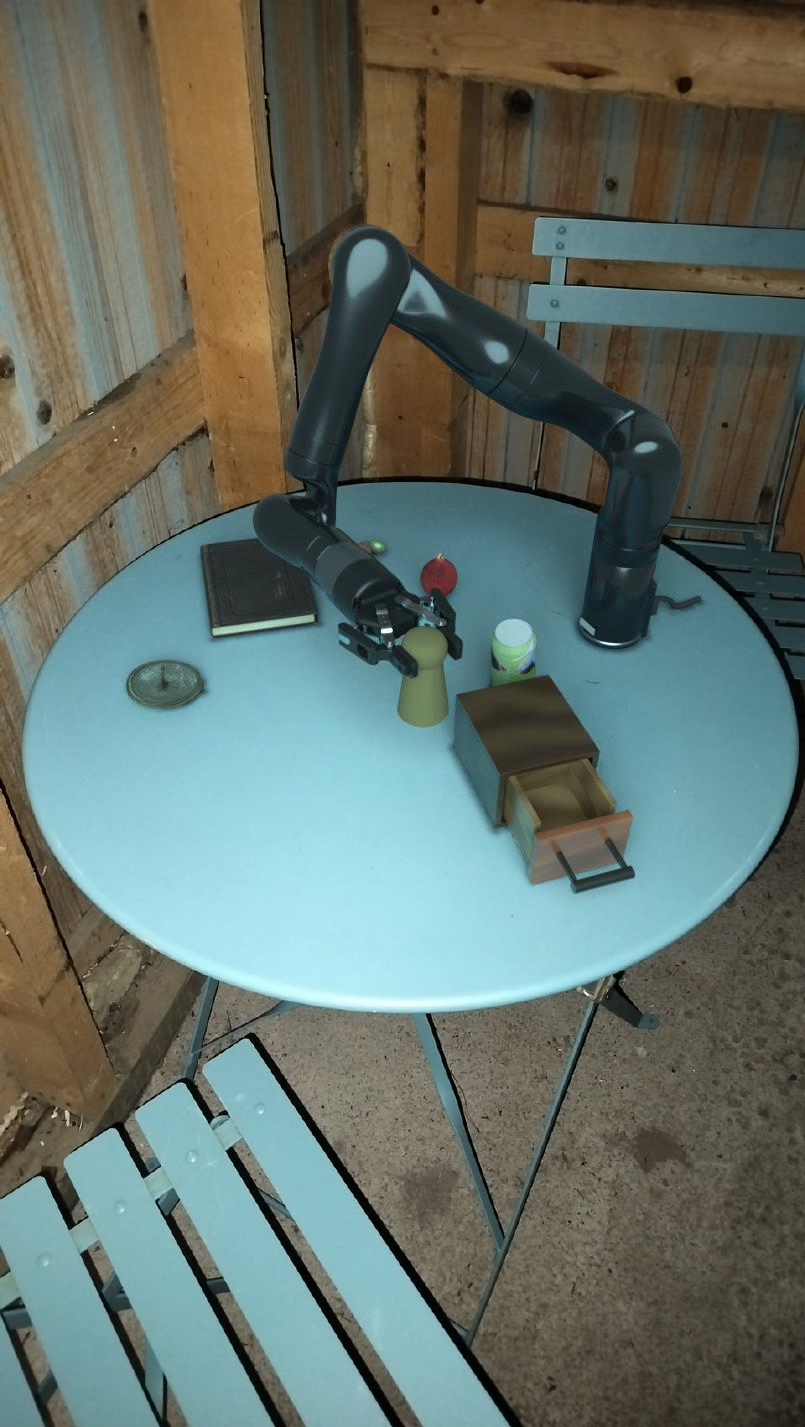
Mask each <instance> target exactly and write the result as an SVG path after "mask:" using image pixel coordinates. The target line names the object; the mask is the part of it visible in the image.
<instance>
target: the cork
mask: <svg viewBox="0 0 805 1427" xmlns="http://www.w3.org/2000/svg"><path fill="white" fill-rule="evenodd" d="M400 645H401V646H402V647H403V648H404V649H405V650H406V651H407V652H408V653H409V654H410V655H411V656H412V657H413V658H414V659H415V660H416V662H417V664H418V676H417V677H415V678H412V679H411V678H409V677H408V675H407V676H404V675H402V676H401V677H402V678H401V679H402V680H401V683H400V690H399V696H398V700H397V701H398V702H397V709H396V713H397V715H398V717H399V719H401V720H402V721H403V722H404V723H406V724H408V725H409V726H412V727H417V728H429V727H435V726H437V725H439V724H441V723H442V722H443V721H445V720H446V719H447V717H448V715H449V714H450V712H449V711H450V710H449V709H450V706H449V700H448V699H449V698H448V691H447V683H446V676H445V668H444V661H445V660H446V658H447V655H448V653H447V651H448V643H447V640H446V637H445V636H444V634H443V633H442V632H441V631H440V630H438V629H436V628H435V627H434V626H431V627H430V626H419V627H415V628H412V629H410V630H409V631H408V632H407V633H406V634H405V635H403V637H402V638H401V640H400Z"/></svg>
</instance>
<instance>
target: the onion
mask: <svg viewBox="0 0 805 1427" xmlns="http://www.w3.org/2000/svg"><path fill="white" fill-rule="evenodd" d="M458 578H459V577H458V572H457V569H456V566H455V565H454V563H453V562H452V561H450V560H449V559H447V558H445V554H444V553H442V552H439V553H437V554H436V557H435V558H432V559H430V560H429V561H427V562H426V563H425V564H424V566H423V567H422V569H421V572H420V579H419V580H420V585H421V588H422V589H423V591H424V592H425V593H426V594H427V595H430V590H431V589H432V588H438V589H440V590H441V592H442V593H443V595H444V596H445V597H447V596H448V595H450V594H451V593H453V591H454V590H455V589H456V587H457V584H458V580H459V579H458Z"/></svg>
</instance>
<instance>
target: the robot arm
mask: <svg viewBox="0 0 805 1427" xmlns="http://www.w3.org/2000/svg"><path fill="white" fill-rule="evenodd" d="M327 262H328V263H327V268H328V269H327V270H328V276H329V281H330V283H331V291H330V300H329V308H328V313H327V314H328V315H327V320H326V321H327V323H326V326H325V331H324V335H323V339H322V343H321V347H320V350H319V354H318V357H317V359H316V362H315V364H314V368H313V371H312V372H311V376H310V378H309V381H308V383H307V385H306V388H305V390H304V393H303V396H302V398H301V401H300V404H299V406H298V410H297V412H296V415H295V419H294V423H293V426H292V429H291V434H290V436H289V440H288V444H287V447H286V451H285V455H284V460H283V468H284V471H286V473H287V474H288V475H289V476H290V477H292V478H293V479H295V480H297V481H300V482H302V483H304V484H305V485H306V486H305V487H306V491H305V494H304V496H302V495H294V494H287V493H279V492H278V493H270V494H267V495H266V496H264V497H263V498H261V499H260V500H259V501H258V503H256V506H255V508H254V510H253V514H252V526H253V530H254V533H255V535H256V538H258V539H259V541H260V542H261V543H262V544H263V546H264V547H266V548H267V549H268V550H269V551H270V552H272V553H273V554H275V555H276V556H278V557H280V558H281V559H283V560H285V561H286V562H288V563H290V564H292V565H294V566H296V567H298V568H300V569H301V570H303V571H304V572H305V573H306V576H307V577H309V578H310V580H312V582H313V583H315V585H317V586H318V588H319V589H320V591H321V592H322V594H323V595H324V596H325V598H326V599H327V600H328V601H329V602H330V603H331V604H332V605H333V606H334V607H335V608H336V609H337V610H338V611H339V612H340V613H341V615H343V616H344V618H346V619H347V621H348V622H349V623H347V622H339V623H338V624H337V634H338V638H337V639H338V644H339V646H341V647H343V648H344V649H346V650H347V651H349V652H350V653H352V654H353V655H355V656H356V657H357V658H359V659H360V660H362V661H364V662H365V663H366V664H368V665H370V666H377V665H378V664H379V662H383V661H384V662H386V663H387V664H391V665H392V666H393V667H394V669H396V670H397V671H398V673H399V674H400V675H401V676H403V675H404V676H407V675H408V677H409V678H411V679H412V678H415V677H417V676H418V664H417V662H416V660H415V659H414V658H413V657H412V656H411V655H410V654H409V653H408V652H407V651H406V650H405V649H404V648H403V647H402V646H401V643H399V644H396V640H398V639H399V638H401V637H402V636H404V635H405V634H406V633H407V632H408V631H409V630H410V629H412V628H415V627H419V626H430V627H434V628H436V629H438V630H440V631H441V632H442V633H443V634H444V636H445V637H446V640H447V643H448V651H447V655H448V656H450V658H451V659H452V660H454V661H458V660H460V659H462V658H463V652H464V642H463V639H461V637H460V636H459V635H458V634H456V630H457V627H456V624H457V623H456V620H457V612H456V611H455V609H454V608H453V606H452V605H451V603H450V601H448V599H447V598H446V596H444V595H443V593H442V592H441V590H440V589H438V588H432V589H431V590H430V595H429V594H427V595H422V596H418V595H417V594H416V593H412V592H410V591H408V590H407V589H406V588H405V586H404V585H403V583H402V581H401V580H400V579H399V578H398V577H397V576H396V575H395V574H394V573H393V572H392V571H390V569H388V567H386V566H385V565H384V564H382V563H381V561H380V560H378V559H377V558H376V557H375V556H374V555H373V553H372V554H370V553H369V552H368V551H366V550H365V549H363V548H362V547H360V546H359V545H358V543H356V542H355V540H354V539H352V538H351V537H350V536H349V535H348V534H347V533H346V532H345V531H343V530H342V529H340V528H339V527H338V526H336V524H337V498H338V485H339V484H338V483H339V472H340V469H341V466H342V463H343V460H344V457H345V454H346V451H347V447H348V444H349V441H350V438H351V433H352V430H353V427H354V424H355V420H356V417H357V413H358V409H359V405H360V401H361V399H362V395H363V391H364V389H365V385H366V382H367V379H368V376H369V373H370V370H371V368H372V366H373V363H374V359H375V357H376V355H377V352H378V351H379V348H380V345H381V344H382V341H383V338H384V336H385V334H386V333H387V330H388V328H389V326H390V324H391V325H393V326H394V327H396V328H398V329H400V330H402V331H404V332H405V333H407V334H409V335H410V336H412V337H413V338H415V339H416V340H418V341H419V342H420V343H421V344H422V345H424V346H425V347H426V348H428V349H429V350H430V352H432V353H433V354H434V355H435V356H437V357H438V359H440V360H441V362H443V363H444V364H445V365H446V366H447V367H449V369H451V370H452V371H453V372H454V373H456V374H457V375H458V376H459V377H460V378H461V379H463V380H464V381H465V382H466V383H468V384H469V385H470V386H472V387H474V389H476V390H477V391H479V392H480V393H481V394H483V395H484V396H486V397H487V398H489V399H491V400H492V401H493V402H495V403H497V404H498V405H499V406H501V407H503V408H504V409H507V410H508V411H510V412H512V413H514V414H516V415H518V416H521V417H523V418H526V419H530V420H533V421H536V422H540V423H545V424H550V425H553V426H557V427H560V428H562V429H564V430H566V431H568V432H570V433H571V434H573V435H574V436H576V437H577V438H579V439H580V440H582V441H583V442H584V443H585V444H586V445H589V447H591V448H592V449H593V450H595V452H597V453H598V454H599V455H600V456H601V457H602V458H603V459H604V461H605V462H606V466H607V470H608V472H609V473H608V481H607V488H606V493H605V499H604V503H603V505H602V506H601V508H599V510H598V512H597V515H596V521H595V527H594V533H593V538H592V545H591V552H590V558H589V564H588V569H587V577H586V582H585V583H586V584H585V590H584V596H583V601H582V608H581V614H580V618H579V622H578V630H579V634H580V635H581V637H583V638H584V639H585V640H586V641H587V642H589V643H590V644H592V645H594V646H597V647H600V648H605V649H609V650H610V649H611V650H620V649H627V648H629V647H632V646H634V645H636V644H637V643H638V642H639V641H640V640H641V638H644V637H647V634H648V631H649V626H650V621H651V617H654V616H657V614H658V609H659V606H660V602H662V603H666V604H668V605H669V606H670V607H671V608H672V609H675V610H679V609H684V608H687V607H689V606H692V605H695V604H697V603H700V602H702V597H701V595H697V596H694V597H692V598H689V599H687V600H684V601H681V602H676V601H675V600H674V599H673V598H672V597H670V596H666V595H660V594H657V590H658V582H657V581H656V580H655V579H654V577H655V576H654V575H655V572H656V567H657V562H658V557H659V553H660V547H661V543H662V538H663V535H664V530H665V529H666V528H667V527H668V525H669V523H670V521H671V519H672V515H673V512H674V508H675V504H676V500H677V496H678V492H679V489H680V488H679V487H680V484H681V480H682V474H683V467H684V459H683V453H682V450H681V447H680V445H679V443H678V440H677V438H676V436H675V433H674V430H673V429H672V427H671V425H670V424H669V423H668V422H667V420H666V419H665V418H663V417H662V416H661V415H660V414H658V413H657V412H656V411H653V410H652V409H650V408H648V407H647V406H644V405H642V404H641V403H638V402H636V401H634V400H633V399H631V398H628V397H626V396H624V395H623V394H621V393H619V392H617V391H615V390H614V389H612V388H610V387H608V386H606V385H605V384H603V383H602V382H601V381H599V380H597V379H596V378H595V377H594V376H593V375H591V374H590V373H589V372H588V371H586V369H585V368H583V367H582V366H580V365H579V364H578V363H576V362H575V361H574V360H573V359H571V358H570V357H569V356H568V355H567V354H565V353H564V352H562V351H561V350H559V349H558V348H556V347H555V346H554V345H553V344H552V343H550V342H549V341H547V340H546V339H544V338H543V337H542V336H540V335H538V333H536V332H534V331H533V330H532V329H531V328H529V327H527V326H525V324H523V323H521V322H520V321H518V320H516V319H515V318H513V317H511V316H510V315H508V314H506V313H504V312H503V311H501V310H500V309H497V308H496V307H494V306H492V305H490V304H488V303H486V302H484V301H483V300H480V299H479V298H476V297H474V296H473V295H471V294H469V293H466V292H464V291H463V290H461V289H460V288H459V289H458V288H457V287H455V286H453V285H452V284H450V283H449V282H447V281H445V280H444V279H443V278H442V277H440V276H439V275H437V274H436V273H435V272H433V271H432V270H431V269H430V268H429V267H427V265H426V264H424V263H423V262H422V261H420V260H419V259H418V258H417V257H416V256H415V255H413V254H412V253H411V252H410V251H409V250H408V249H406V247H405V246H404V244H403V243H402V241H401V240H400V239H399V238H398V237H397V236H396V235H395V234H393V233H392V232H391V231H389V230H387V229H386V228H384V227H381V226H378V225H375V224H369V223H368V224H367V223H365V224H358V225H355V226H352V227H350V228H347V229H346V230H345V231H343V232H342V233H340V234H339V236H338V237H337V238H336V239H335V241H334V242H333V244H332V246H331V248H330V251H329V255H328V261H327ZM370 637H371V638H370ZM372 637H374V638H376V639H377V641H376V640H373V639H372Z"/></svg>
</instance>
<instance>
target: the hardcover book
mask: <svg viewBox="0 0 805 1427" xmlns="http://www.w3.org/2000/svg"><path fill="white" fill-rule="evenodd" d="M199 554H200V560H201V569H202V576H203V584H204V590H205V598H206V606H207V612H208V621H209V622H208V623H209V628H210V633H211V637H212V638H215V639H219V638H220V639H222V638H227V637H228V638H229V637H236V636H243V635H250V634H256V633H264V632H272V631H279V630H286V629H292V628H293V629H294V628H300V627H301V628H302V627H307V626H315V625H318V621H317V617H316V615H317V614H318V613H317V610H316V606H315V602H314V598H313V595H312V592H311V587H310V584H309V581H308V576H307V574H306V573H305V572H304V571H303V570H301V569H300V568H298V567H296V566H294V565H292V564H290V563H288V562H286V561H285V560H283V559H281V558H280V557H278V556H276V555H275V554H273V553H272V552H270V551H269V550H268V549H267V548H266V547H264V546H263V544H262V543H261V542H260V541H259V539H258V537H254V538H246V539H237V540H229V541H221V542H213V543H205V544H202V545H200V547H199Z"/></svg>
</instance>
